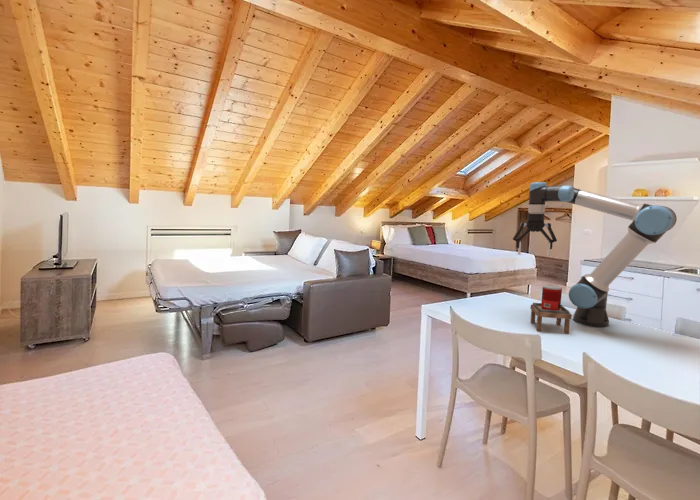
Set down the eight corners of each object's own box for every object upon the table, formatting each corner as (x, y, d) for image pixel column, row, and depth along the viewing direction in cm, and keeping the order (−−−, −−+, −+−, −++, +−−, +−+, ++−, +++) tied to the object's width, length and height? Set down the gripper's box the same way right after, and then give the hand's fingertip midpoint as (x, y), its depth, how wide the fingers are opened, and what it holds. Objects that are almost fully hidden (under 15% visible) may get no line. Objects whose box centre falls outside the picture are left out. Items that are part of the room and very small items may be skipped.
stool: (560, 324, 183) (562, 304, 182) (569, 334, 170) (571, 312, 169) (529, 322, 187) (530, 302, 185) (536, 331, 173) (538, 309, 172)
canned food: (562, 312, 173) (564, 288, 171) (543, 311, 174) (545, 287, 173) (556, 307, 180) (558, 285, 179) (539, 306, 182) (540, 284, 180)
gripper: (561, 213, 190) (558, 254, 193) (508, 212, 196) (506, 253, 199) (565, 213, 183) (562, 256, 185) (511, 213, 189) (508, 254, 191)
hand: (533, 254), depth 192 cm, fingers open, 13 cm apart
